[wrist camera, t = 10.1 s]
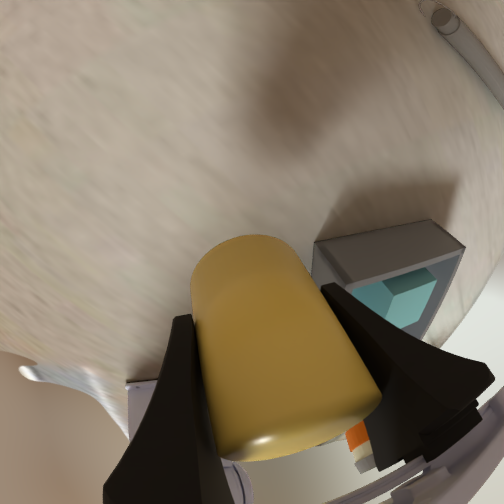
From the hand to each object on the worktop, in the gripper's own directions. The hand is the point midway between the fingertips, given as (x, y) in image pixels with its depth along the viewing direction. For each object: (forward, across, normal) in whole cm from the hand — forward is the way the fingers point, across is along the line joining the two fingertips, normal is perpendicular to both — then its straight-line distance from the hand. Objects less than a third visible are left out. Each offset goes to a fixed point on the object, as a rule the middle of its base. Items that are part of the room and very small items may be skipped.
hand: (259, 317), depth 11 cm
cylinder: (+2, 0, 0) cm, 2 cm away
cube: (+8, -13, +8) cm, 17 cm away
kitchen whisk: (+9, -31, -10) cm, 34 cm away
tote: (+9, -13, +12) cm, 20 cm away
